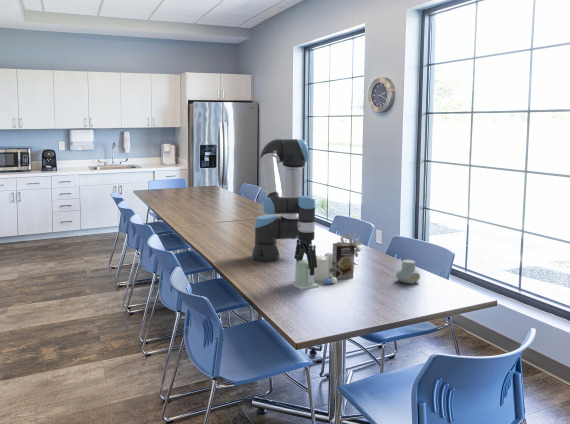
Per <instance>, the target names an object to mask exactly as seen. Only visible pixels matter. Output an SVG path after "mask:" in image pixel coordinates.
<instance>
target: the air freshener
mask: <svg viewBox="0 0 570 424" xmlns="http://www.w3.org/2000/svg"><path fill="white" fill-rule="evenodd" d="M395 277H396V279H397V280H398V281H399V282H401V283H404V284H408V285H412V284H416V282H418V281H419V280H420V279H421V275H420V273H419V271H418V270H417V269H416V261H415V260H412V259H404V260H402V261H401V269H398V271H396V273H395Z"/></svg>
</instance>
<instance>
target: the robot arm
mask: <svg viewBox="0 0 570 424" xmlns="http://www.w3.org/2000/svg"><path fill="white" fill-rule="evenodd" d="M264 145H265V146H263V148H262V150H261V152H260V156H259V158H260V164H261V166H262V169H263V177H264V186H265V187H264V188H265V197H264V198H263V199H262V211H263V213H264V214H263V215H260V216H257V217H256V218H255V220H254V246H253V248H252V252H251V260H253V261H255V262H261V263H262V262H263V263H264V262H266V263H269V262H275V261H279V260H280V252H279V249H278V248H279V247H278V245H277V240H296V246H295V252H294V259H295V261H298V260H304V256H306V260H308V264H309V267H308V283H309V282H314V268H317V260H316V256H317V253H316V250H317V249H316V245H315V244H312V241H314V240H315V233H316V232H315V229H316V221H315V220H316V197H315V196H312V195H301V193H302V173H303V172H302V171H303V168H305V166H306V163H309V158H310V157H309V148H308V144H307V141H306V140H305V139H298V138H294V139H292V138H291V139H289V138H288V139H281V138H280V139H279V138H277V139H276V138H275V139H272V140H270V141H269V142H267V144H264ZM280 163H282V167H283V168H284V171H285V172H284V173H285V174H284V194H283V191H282V182H281V176H280V168H279V164H280ZM283 195H284V197H283ZM277 215H280V217H278V216H277Z"/></svg>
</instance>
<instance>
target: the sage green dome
mask: <svg viewBox="0 0 570 424" xmlns="http://www.w3.org/2000/svg"><path fill="white" fill-rule="evenodd" d="M295 261H296V260H295ZM308 267H309V264H308V260H307V259H303V260H298V261H296V262H295V274H294V275H295V277H294V281H295V284H297V285H299V286H312V285H313V284H314V283H316V280H315V268H314V282H309V283H308Z"/></svg>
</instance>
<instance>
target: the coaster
mask: <svg viewBox="0 0 570 424" xmlns="http://www.w3.org/2000/svg"><path fill="white" fill-rule="evenodd" d="M291 285H293V286H294V287H296V288H297V289H299V290H302V291H303V290H309V289H314V288H319V284H318V283H316V282H315V283H314V284H313V285H312V286H299V285H297V284H295V280H294V281H291Z"/></svg>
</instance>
